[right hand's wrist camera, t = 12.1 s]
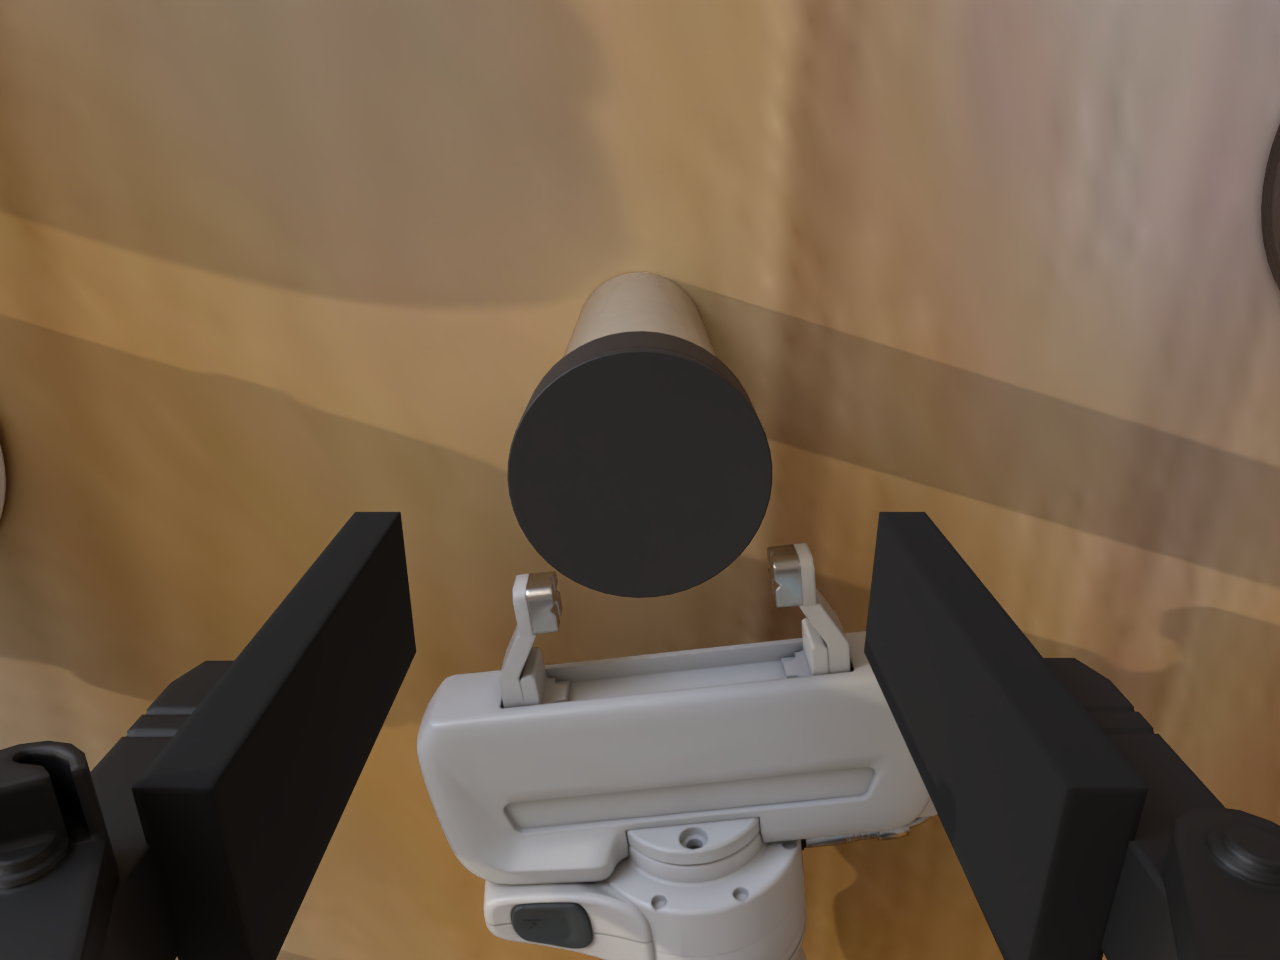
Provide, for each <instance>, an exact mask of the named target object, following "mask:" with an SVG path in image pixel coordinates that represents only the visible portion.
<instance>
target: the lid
mask: <svg viewBox="0 0 1280 960" xmlns="http://www.w3.org/2000/svg"><path fill="white" fill-rule="evenodd" d="M508 487H509V495H510V499H511V503H512V507H513V511H514V513H515V515H516V518H517V520H518V523H519V525H520V527H521V529H522V530H523V532H524V534H525V536H526V537H527V539H528V540H529V542H530V543H531V544H532V546H533V547H534V548H535V550H536V551H537V552H538V553H539V554H540V555H541V556H542V557H543V558H544V559H545V560H546V561H547V562H548V563H549V564H550V565H551V566H552V567H554V568H555V569H556V570H558V571H559V572H560V573H561V574H563V575H565V576H566V577H568V578H570V579H571V580H573V581H575V582H577V583H579V584H581V585H583V586H586V587H588V588H590V589H593V590H596V591H599V592H603V593H606V594H611V595H616V596H622V597H635V598H643V597H657V596H664V595H670V594H674V593H677V592H681V591H684V590H687V589H690V588H692V587H694V586H697V585H699V584H701V583H703V582H705V581H707V580H709V579H710V578H712V577H714V576H716V575H717V574H718V573H720V572H721V571H722V570H724V569H725V568H726V567H728V566H729V565H730V564H731V563H732V562H733V561H734V560H735V559H736V558H737V557H738V556H739V555H740V554H741V553H742V552H743V551H744V549H745V548H746V547H747V546H748V545H749V543H750V542H751V540H752V539H753V537H754V535H755V534H756V532H757V531H758V529H759V527H760V525H761V522H762V520H763V518H764V516H765V513H766V510H767V506H768V503H769V500H770V494H771V487H772V461H771V454H770V448H769V445H768V441H767V438H766V434H765V432H764V430H763V427H762V425H761V423H760V421H759V418H758V416H757V414H756V412H755V410H754V407H753V405H752V403H751V401H750V399H749V397H748V394H747V393H746V391H745V389H744V388H743V386H742V385H741V383H740V381H739V380H738V379H737V378H736V376H735V375H734V374H733V373H732V371H731V370H730V369H729V368H728V367H727V366H726V365H725V364H724V363H722V362H721V361H720V360H719V359H718V358H717V357H715V356H714V355H713V354H711V353H710V352H708V351H707V350H705V349H704V348H702V347H700V346H698V345H696V344H694V343H692V342H690V341H688V340H685V339H682V338H679V337H676V336H673V335H669V334H664V333H659V332H648V331H632V332H622V333H616V334H611V335H607V336H604V337H601V338H598V339H595V340H592V341H590V342H588V343H586V344H584V345H582V346H580V347H578V348H576V349H575V350H573V351H572V352H570V353H569V354H567V355H566V356H564V357H563V358H562V359H561V360H560V361H559V362H557V363H556V364H555V365H554V366H553V367H552V368H551V369H550V370H549V372H548V373H547V374H546V375H545V376H544V377H543V379H542V380H541V382H540V383H539V385H538V386H537V388H536V389H535V391H534V393H533V395H532V397H531V399H530V401H529V403H528V405H527V407H526V410H525V412H524V414H523V416H522V418H521V420H520V423H519V425H518V427H517V429H516V432H515V435H514V438H513V441H512V444H511V448H510V454H509V460H508Z"/></svg>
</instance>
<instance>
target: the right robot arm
mask: <svg viewBox="0 0 1280 960" xmlns="http://www.w3.org/2000/svg"><path fill="white" fill-rule="evenodd" d="M1261 212H1262V233H1263V241H1264V247H1265V251H1266V255H1267V260H1268V263H1269V266H1270V269H1271V271H1272V274H1273V277H1274V279H1275V281H1276V283H1277V285H1278V287H1279V289H1280V125H1279V128H1278V130H1277V133H1276V136H1275V139H1274V142H1273V144H1272V148H1271V152H1270V155H1269V159H1268V163H1267V167H1266V173H1265V178H1264V184H1263V193H1262V206H1261ZM415 653H416V646H415V637H414V628H413V619H412V610H411V602H410V593H409V584H408V575H407V566H406V557H405V548H404V539H403V530H402V522H401V513H400V512H355V513H354V514H353V515H352V517H351V518H350V519H349V520H348V522H347V523H346V524H345V525H344V526H343V528H342V529H341V530H340V531H339V533H338V534H337V535H336V536H335V538H334V539H333V540H332V541H331V543H330V544H329V545H328V546H327V547H326V549H325V550H324V551H323V552H322V554H321V555H320V556H319V557H318V559H317V560H316V561H315V562H314V563H313V565H312V566H311V567H310V568H309V570H308V571H307V572H306V573H305V575H304V576H303V577H302V578H301V580H300V581H299V582H298V583H297V584H296V586H295V587H294V588H293V589H292V591H291V592H290V593H289V594H288V596H287V597H286V598H285V599H284V600H283V602H282V603H281V604H280V605H279V607H278V608H277V609H276V610H275V612H274V613H273V614H272V615H271V617H270V618H269V619H268V620H267V621H266V623H265V624H264V625H263V626H262V628H261V629H260V630H259V631H258V633H257V634H256V635H255V636H254V637H253V639H252V640H251V641H250V642H249V644H248V645H247V646H246V647H245V649H244V650H243V651H242V652H241V654H240V655H239V656H238V657H237V658H236V660H235V661H205V662H203V663H202V664H200V665H199V666H197V667H195V668H194V669H192V670H191V671H189V672H187V673H186V674H184V675H183V676H181V677H180V678H178V679H176V680H175V681H173V682H172V683H170V684H169V685H168V687H167V688H166V689H165V690H164V691H163V692H162V693H161V694H160V695H159V697H158V698H157V699H156V700H155V701H154V702H153V703H152V704H151V705H150V707H149V708H148V709H147V714H146V715H142V716H141V717H140V718H139V719H138V720H137V721H136V722H135V723H134V724H133V726H132V727H131V728H130V729H129V730H128V731H127V736H126V737H122V738H121V739H120V740H119V741H118V742H117V743H116V744H115V746H114V747H113V748H112V749H111V750H110V751H109V752H108V753H107V754H106V756H105V757H104V758H103V759H102V760H101V761H100V762H99V763H98V764H97V766H96V767H95V768H94V769H93V770H92V771H91V772H90V770H89V767H88V763H87V760H86V757H85V753H83V752H82V751H81V750H79V749H78V748H76V747H75V746H74V745H72V744H69V743H61V742H54V741H43V742H35V743H27V744H19V745H16V746H12V747H9V748H6V749H3V750H0V960H175V959H176V957H178V960H276V958H277V956H278V954H279V952H280V949H281V947H282V945H283V943H284V941H285V938H286V936H287V934H288V932H289V930H290V927H291V925H292V923H293V921H294V919H295V916H296V914H297V912H298V910H299V908H300V905H301V903H302V901H303V899H304V897H305V895H306V892H307V890H308V888H309V886H310V884H311V881H312V879H313V877H314V875H315V873H316V870H317V868H318V866H319V864H320V862H321V859H322V857H323V855H324V853H325V851H326V848H327V846H328V844H329V842H330V840H331V837H332V835H333V833H334V831H335V829H336V827H337V824H338V822H339V820H340V818H341V816H342V813H343V811H344V809H345V807H346V805H347V802H348V800H349V798H350V796H351V794H352V791H353V789H354V787H355V785H356V783H357V780H358V778H359V776H360V774H361V772H362V769H363V767H364V765H365V763H366V761H367V759H368V756H369V754H370V752H371V750H372V748H373V745H374V743H375V741H376V739H377V737H378V734H379V732H380V730H381V728H382V726H383V723H384V721H385V719H386V717H387V715H388V712H389V710H390V708H391V706H392V704H393V702H394V699H395V697H396V695H397V693H398V691H399V688H400V686H401V684H402V682H403V680H404V677H405V675H406V673H407V671H408V669H409V666H410V664H411V662H412V660H413V658H414V655H415ZM864 653H865V655H866V658H867V660H868V662H869V664H870V666H871V669H872V671H873V673H874V675H875V677H876V680H877V682H878V684H879V686H880V688H881V691H882V693H883V695H884V697H885V699H886V702H887V704H888V706H889V708H890V710H891V712H892V715H893V717H894V719H895V721H896V723H897V726H898V728H899V730H900V732H901V734H902V737H903V739H904V741H905V743H906V745H907V748H908V750H909V752H910V754H911V756H912V759H913V761H914V763H915V765H916V767H917V770H918V772H919V774H920V776H921V778H922V780H923V783H924V785H925V787H926V789H927V791H928V794H929V796H930V798H931V800H932V802H933V805H934V807H935V809H936V811H937V813H938V816H939V818H940V820H941V822H942V824H943V827H944V829H945V831H946V833H947V835H948V837H949V840H950V842H951V844H952V846H953V848H954V851H955V853H956V855H957V857H958V859H959V862H960V864H961V866H962V868H963V870H964V873H965V875H966V877H967V879H968V881H969V884H970V886H971V888H972V890H973V892H974V895H975V897H976V899H977V901H978V903H979V905H980V908H981V910H982V912H983V914H984V916H985V919H986V921H987V923H988V925H989V927H990V930H991V932H992V934H993V936H994V938H995V941H996V943H997V945H998V947H999V949H1000V952H1001V954H1002V956H1003V958H1004V960H1102V956H1103V953H1104V955H1105V956H1106V958H1107V960H1280V826H1279V825H1277V824H1275V823H1273V822H1271V821H1269V820H1266V819H1263V818H1260V817H1257V816H1255V815H1252V814H1249V813H1246V812H1243V811H1240V810H1234V809H1227V808H1225V807H1224V806H1223V805H1222V804H1221V803H1220V801H1219V800H1218V799H1217V798H1216V797H1215V796H1214V795H1213V794H1212V793H1211V791H1210V790H1209V789H1208V788H1207V787H1206V786H1205V785H1204V784H1203V783H1202V782H1201V780H1200V779H1199V778H1198V777H1197V776H1196V775H1195V774H1194V773H1193V772H1192V770H1191V769H1190V768H1189V767H1188V766H1187V765H1186V764H1185V763H1184V762H1183V761H1182V759H1181V758H1180V757H1179V756H1178V755H1177V754H1176V753H1175V752H1174V751H1173V749H1172V748H1171V747H1170V746H1169V745H1168V744H1167V743H1166V742H1165V741H1164V740H1163V738H1162V737H1161V736H1160V735H1159V734H1154V732H1153V727H1152V726H1151V725H1150V724H1149V723H1148V722H1147V721H1146V720H1145V719H1144V717H1143V716H1142V715H1141V714H1140V713H1139V712H1134V706H1133V705H1132V704H1131V703H1130V702H1129V701H1128V700H1127V699H1126V698H1125V696H1124V695H1123V694H1122V693H1121V692H1120V691H1119V690H1118V689H1117V688H1116V686H1115V685H1114V684H1113V683H1112V682H1111V681H1110V680H1109V679H1107V678H1105V677H1104V676H1102V675H1101V674H1099V673H1097V672H1096V671H1094V670H1093V669H1091V668H1089V667H1088V666H1086V665H1085V664H1083V663H1081V662H1080V661H1078V660H1077V659H1075V658H1043V657H1042V656H1041V655H1040V654H1039V652H1038V651H1037V650H1036V649H1035V647H1034V646H1033V645H1032V644H1031V642H1030V641H1029V640H1028V639H1027V637H1026V636H1025V635H1024V634H1023V633H1022V631H1021V630H1020V629H1019V628H1018V626H1017V625H1016V624H1015V623H1014V621H1013V620H1012V619H1011V618H1010V617H1009V615H1008V614H1007V613H1006V612H1005V610H1004V609H1003V608H1002V607H1001V605H1000V604H999V603H998V602H997V600H996V599H995V598H994V597H993V596H992V594H991V593H990V592H989V591H988V589H987V588H986V587H985V586H984V584H983V583H982V582H981V581H980V580H979V578H978V577H977V576H976V575H975V573H974V572H973V571H972V570H971V568H970V567H969V566H968V565H967V563H966V562H965V561H964V560H963V559H962V557H961V556H960V555H959V554H958V552H957V551H956V550H955V549H954V547H953V546H952V545H951V544H950V543H949V541H948V540H947V539H946V538H945V536H944V535H943V534H942V533H941V531H940V530H939V529H938V528H937V526H936V525H935V524H934V523H933V522H932V520H931V519H930V518H929V517H928V515H927V514H926V513H925V512H880V513H879V522H878V530H877V539H876V548H875V557H874V566H873V575H872V584H871V593H870V602H869V610H868V619H867V628H866V637H865V646H864Z"/></svg>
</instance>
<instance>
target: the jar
mask: <svg viewBox="0 0 1280 960" xmlns="http://www.w3.org/2000/svg"><path fill="white" fill-rule="evenodd" d="M632 331H648V332H659V333H664V334H669V335H673V336H676V337H679V338H682V339H685V340H688V341H690V342H692V343H694V344H696V345H698V346H700V347H702V348H704V349H705V350H707V351H708V352H710V353H711V354H713V355H714V356H715V357H717V356H716V353H715V351H714V348H713V346H712V343H711V341H710V338H709V336H708V333H707V330H706V328H705V325H704V323H703V320H702V318H701V315H700V313H699V311H698V308H697V306H696V305H695V303H694V301H693V300H692V298H691V297H690V296H689V295H688V293H687V292H686V291H684V290H683V289H682V288H681V287H680V286H679V285H677V284H676V283H674V282H673V281H671V280H669V279H667V278H665V277H662V276H659V275H656V274H651V273H642V272H640V273H629V274H624V275H621V276H618V277H615V278H613V279H611V280H609V281H607V282H606V283H604V284H603V285H601V286H600V287H599V288H598V289H597V290H595V291H594V292H593V294H592V295H591V296H590V297H589V298H588V300H587V301H586V303H585V304H584V306H583V308H582V310H581V313H580V315H579V318H578V320H577V323H576V325H575V328H574V330H573V333H572V336H571V338H570V341H569V343H568V346H567V348H566V351H565V353H564V356H566V355H567V354H569V353H570V352H572V351H573V350H575V349H576V348H578V347H580V346H582V345H584V344H586V343H588V342H590V341H592V340H595V339H598V338H601V337H604V336H607V335H611V334H616V333H622V332H632ZM564 356H563V357H564Z"/></svg>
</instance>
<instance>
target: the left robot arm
mask: <svg viewBox="0 0 1280 960" xmlns="http://www.w3.org/2000/svg"><path fill="white" fill-rule="evenodd" d="M5 493H6V475H5V465H4V458H3V453H2V449H1V445H0V519H1V515H2V512H3V507H4V502H5ZM767 557H768V562H769V565H770V568H769V569H768V571H769V583H770V587H771V591H772V593H774V600H775V603H776V607H777V608H778V607H790V606H799V608H800V609H801V610H802V611H803V613H804V614H805V615H806V617H807V618H804V619H803V620H802V638H795V639H786V640H776V641H767V642H758V643H748V644H739V645H730V646H720V647H711V648H701V649H692V650H683V651H673V652H664V653H655V654H645V655H636V656H627V657H617V658H608V659H599V660H589V661H580V662H570V663H561V664H552V665H544V661H543V656H542V651H541V649H540V648H539V647H533V648H532V646H533V643H534V641H535V638H536V636H537V634H542V633H549V632H557V631H558V630H559V625H560V619H559V617H560V616H561V613H562V602H561V596H560V592H559V591H558V590H557V585H558V579H557V575H556V572H555V571H553V572H542V573H530V574H521V575H517V576H516V579H515V583H514V586H513V605H514V610H515V615H516V620H517V626H516V629H515V631H514V633H513V636H512V638H511V640H510V643H509V645H508V647H507V650H506V653H505V657H504V661H503V665H502V668H501V670H496V671H486V672H477V673H466V674H457V675H452V676H449V677H447V678H446V679H445V680H444V681H443V682H442V683H441V685H440V686H439V687H438V689H437V690H436V692H435V693H434V695H433V697H432V698H431V700H430V702H429V704H428V706H427V708H426V711H425V713H424V715H423V718H422V721H421V724H420V728H419V732H418V737H417V754H418V759H419V763H420V767H421V771H422V774H423V778H424V781H425V784H426V787H427V790H428V793H429V796H430V799H431V802H432V805H433V807H434V810H435V812H436V815H437V817H438V820H439V822H440V825H441V827H442V829H443V832H444V834H445V836H446V838H447V841H448V843H449V845H450V847H451V849H452V850H453V852H454V854H455V855H456V857H457V858H458V859H459V861H460V862H461V863H462V864H463V865H464V866H465V868H467V869H468V870H469V871H470V872H471V873H473V874H474V875H476V876H478V877H480V878H482V879H484V880H485V893H484V917H485V921H486V925H487V927H488V929H489V930H490V932H491V933H492V934H494V935H495V936H497V937H499V938H501V939H504V940H509V941H514V942H521V943H528V944H535V945H541V946H548V947H554V948H559V949H564V950H569V951H574V952H578V953H583V954H587V955H590V956H594V957H597V958H601V959H604V960H807V959H806V956H805V952H804V950H803V947H802V943H803V939H804V934H805V928H806V901H805V885H804V871H803V858H802V850H804V848H809V847H821V846H831V845H840V844H846V843H847V842H848V843H850V842H853V841H859V840H860V839H861V840H866V839H876V838H877V839H878V840H893V839H898V838H902V837H905V836H907V835H909V833H910V828H911V827H914V826H917V825H920V824H922V823H924V822H925V821H927V820H928V819H930V818H931V817H932V816H935V815H937V814H938V813H937V811H936V809H935V807H934V805H933V802H932V800H931V798H930V796H929V794H928V791H927V789H926V787H925V785H924V783H923V780H922V778H921V776H920V774H919V772H918V770H917V767H916V765H915V763H914V761H913V759H912V756H911V754H910V752H909V750H908V748H907V745H906V743H905V741H904V739H903V737H902V734H901V732H900V730H899V728H898V726H897V723H896V721H895V719H894V717H893V715H892V712H891V710H890V708H889V706H888V704H887V702H886V699H885V697H884V695H883V693H882V691H881V688H880V686H879V684H878V682H877V680H876V677H875V675H874V673H873V671H872V669H871V666H870V664H869V662H868V660H867V658H866V655H865V653H864V646H865V637H866V631H860V632H851V633H845V632H844V630H843V628H842V625H841V623H840V621H839V619H838V616H837V614H836V613H835V611H834V610H833V609H832V608H831V606H830V605H829V604H828V602H827V601H826V600H825V599H824V597H823V596H822V595H821V593H820V592H819V591H818V590H817V588H816V582H815V567H814V562H813V557H812V554H811V552H810V549H809V547H808V545H807V543H801V544H791V545H783V546H774V547H768V548H767Z"/></svg>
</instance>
